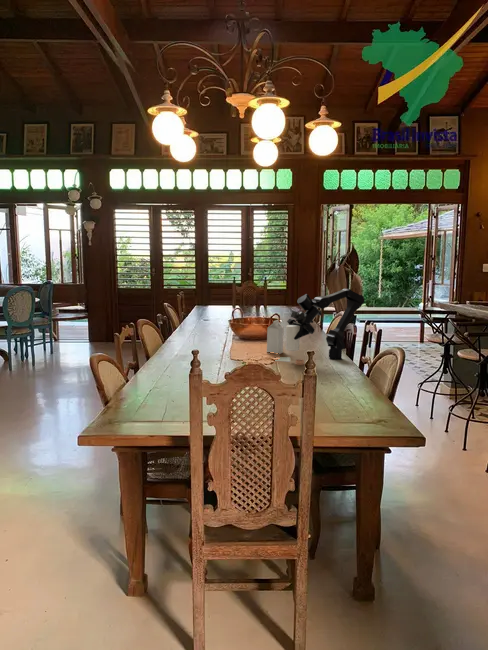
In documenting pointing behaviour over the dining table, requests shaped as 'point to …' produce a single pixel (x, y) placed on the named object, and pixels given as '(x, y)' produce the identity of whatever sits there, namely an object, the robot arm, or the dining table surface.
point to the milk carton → (275, 337)
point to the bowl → (299, 361)
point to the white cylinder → (292, 337)
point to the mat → (284, 359)
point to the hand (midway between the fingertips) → (290, 337)
